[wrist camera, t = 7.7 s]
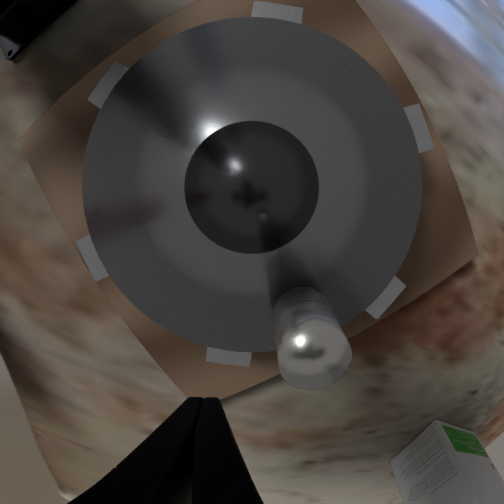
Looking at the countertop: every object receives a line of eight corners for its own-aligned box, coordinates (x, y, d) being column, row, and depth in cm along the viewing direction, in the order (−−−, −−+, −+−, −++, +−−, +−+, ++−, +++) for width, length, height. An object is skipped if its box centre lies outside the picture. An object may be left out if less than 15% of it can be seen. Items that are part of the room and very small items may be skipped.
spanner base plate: (32, 140, 15) (16, 140, 14) (310, -33, 12) (315, -47, 11) (200, 394, 20) (197, 410, 18) (465, 248, 17) (479, 255, 15)
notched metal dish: (172, 361, 17) (141, 443, 11) (62, 122, 13) (-23, 112, 7) (434, 262, 15) (507, 309, 9) (341, 5, 12) (383, -64, 6)
